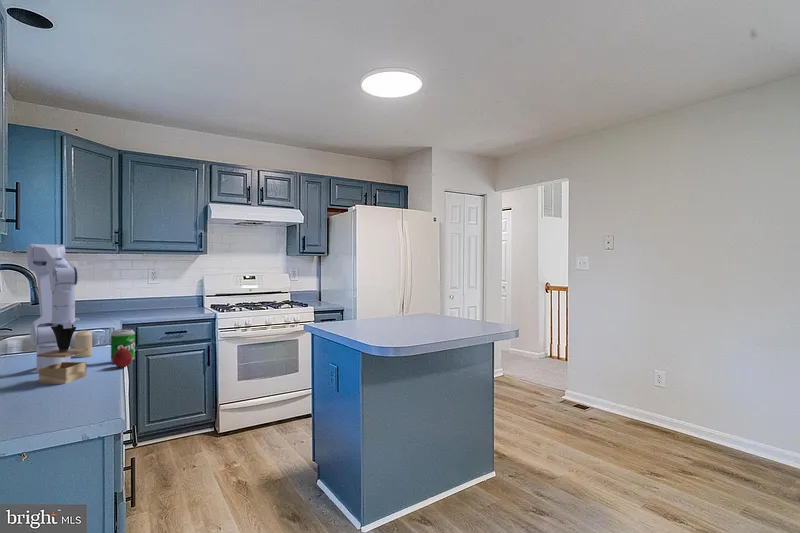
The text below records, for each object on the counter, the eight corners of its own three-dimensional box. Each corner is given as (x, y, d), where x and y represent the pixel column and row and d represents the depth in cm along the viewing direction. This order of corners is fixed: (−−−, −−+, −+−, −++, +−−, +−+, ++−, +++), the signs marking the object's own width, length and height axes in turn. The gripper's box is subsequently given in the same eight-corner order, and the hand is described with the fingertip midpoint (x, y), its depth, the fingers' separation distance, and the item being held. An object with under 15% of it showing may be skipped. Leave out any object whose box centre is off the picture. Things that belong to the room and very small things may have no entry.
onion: (135, 366, 155) (135, 344, 155) (126, 370, 150) (126, 347, 149) (119, 366, 155) (119, 344, 155) (108, 370, 149) (108, 347, 149)
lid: (61, 351, 141) (61, 337, 141) (88, 351, 141) (88, 337, 141) (37, 358, 131) (37, 343, 131) (65, 358, 131) (65, 343, 131)
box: (61, 377, 141) (61, 361, 141) (86, 377, 141) (86, 362, 141) (38, 385, 132) (38, 368, 132) (65, 385, 132) (65, 369, 132)
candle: (91, 356, 170) (92, 331, 170) (74, 358, 167) (74, 332, 167) (92, 354, 175) (92, 329, 175) (75, 355, 172) (75, 330, 172)
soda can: (108, 365, 157) (109, 332, 157) (113, 360, 164) (113, 329, 164) (133, 363, 160) (133, 331, 160) (136, 359, 167) (136, 328, 167)
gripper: (83, 306, 134) (83, 350, 134) (74, 302, 144) (74, 343, 144) (55, 308, 129) (54, 353, 129) (47, 304, 139) (47, 346, 139)
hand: (63, 348), depth 136 cm, fingers closed on lid, 2 cm apart
